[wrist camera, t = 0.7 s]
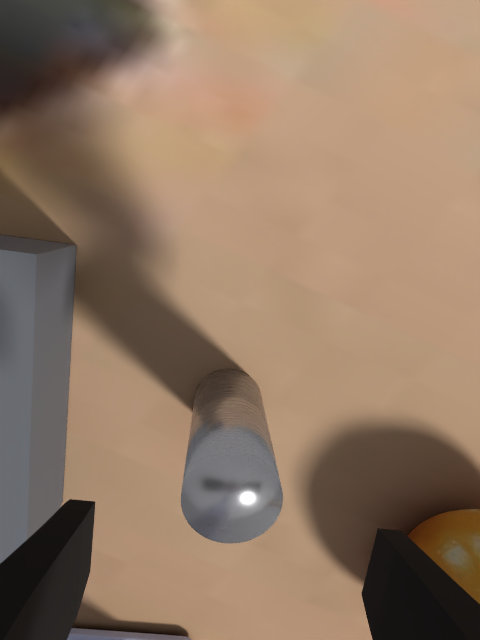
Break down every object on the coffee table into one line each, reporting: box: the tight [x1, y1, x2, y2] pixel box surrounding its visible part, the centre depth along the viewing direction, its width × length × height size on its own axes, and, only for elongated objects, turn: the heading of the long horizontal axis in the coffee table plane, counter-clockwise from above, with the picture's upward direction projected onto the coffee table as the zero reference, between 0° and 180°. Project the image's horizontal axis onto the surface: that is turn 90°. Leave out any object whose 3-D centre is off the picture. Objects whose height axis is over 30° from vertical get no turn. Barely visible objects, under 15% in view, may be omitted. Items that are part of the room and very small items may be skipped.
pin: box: [181, 369, 283, 543], centre depth 16 cm, size 3×3×7 cm
